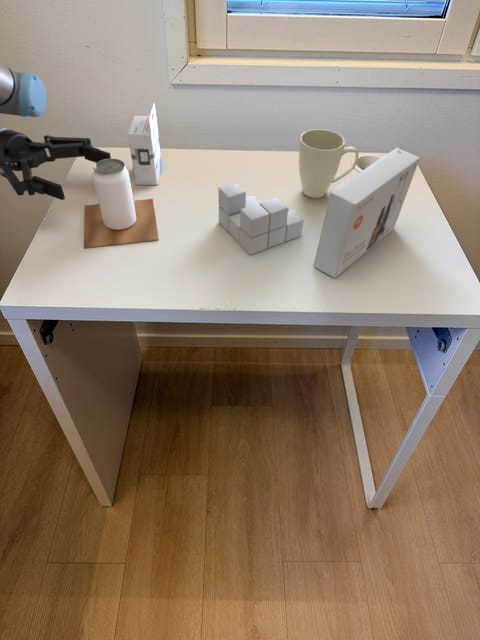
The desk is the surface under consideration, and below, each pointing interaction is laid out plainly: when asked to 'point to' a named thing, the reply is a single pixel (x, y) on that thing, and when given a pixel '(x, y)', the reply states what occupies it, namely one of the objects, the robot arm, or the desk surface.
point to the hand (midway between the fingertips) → (87, 175)
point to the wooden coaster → (104, 236)
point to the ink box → (145, 149)
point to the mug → (321, 160)
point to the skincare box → (364, 211)
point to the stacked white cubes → (256, 219)
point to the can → (114, 194)
